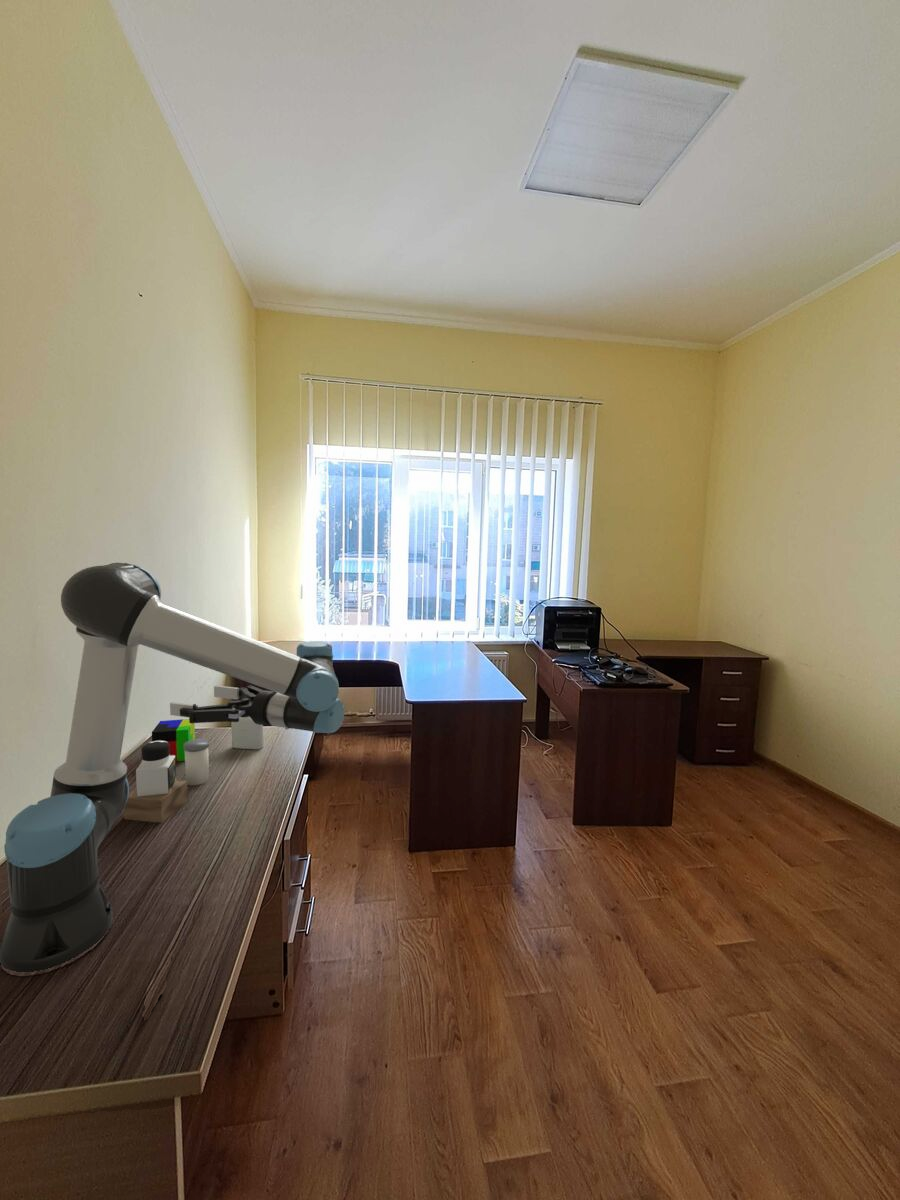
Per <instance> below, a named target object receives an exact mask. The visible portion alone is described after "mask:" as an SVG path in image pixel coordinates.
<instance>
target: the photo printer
mask: <svg viewBox="0 0 900 1200" xmlns="http://www.w3.org/2000/svg"><path fill="white" fill-rule="evenodd" d="M230 723H231V728H230V729H231V746H232V748H233V749H242V750H243V749H244V750H261V749H262V748H263V747H264V725H258V724H256V723H254V722H253V720H252V719H251V717H244V718H243V717H239V721H238V722H230Z"/></svg>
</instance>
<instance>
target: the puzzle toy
mask: <svg viewBox="0 0 900 1200" xmlns="http://www.w3.org/2000/svg"><path fill="white" fill-rule="evenodd" d="M195 724H196V723H189V718H185V719H184V718H183V719H170V720H169V719H168V720H160V721H159V722H158V723H157V724H156V726H155V727H154V729H153V730H152V732H151V742H153V741H166V742H168V743H169V747H170V756H173V755H175V760H176V762H183V761H184V762H185V750H184V743H186V742H187V741H190V740H193V739H196V731H195V729H196V728H195V726H196V725H195Z"/></svg>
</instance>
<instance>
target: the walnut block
mask: <svg viewBox="0 0 900 1200" xmlns="http://www.w3.org/2000/svg"><path fill="white" fill-rule="evenodd" d="M188 786H189V785H188V784H187V781H186V780H177V779H176V782H175V783H174V785H173V787H172V789H171V791H170V793H169V794H161V795H151V796H141V797H138V796H137V787H136V788H135V789H133V790H131V791H129V795H128V799H127V802H126V805H125V807H124V809H123V820H131V821H140V822H148V823H149V822H150V823H161V824H162V823H164V822H165V821H166V820H167V819H168V818H170V817H171V816H173V814H175V813H176V812H177V811H178V810H180V809H181V808H182V807H183V806H184V805H186V804H187V803H188V802H189V792H188V791H189V790H188Z"/></svg>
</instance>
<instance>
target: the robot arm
mask: <svg viewBox="0 0 900 1200" xmlns="http://www.w3.org/2000/svg"><path fill="white" fill-rule="evenodd" d="M161 598H162V591H161V586H160V583H159V582H158V580H157V578H156V577H155V576H154V575H153V573H151V572H150V571H149V570H147V569H146V568H144V567H142V566H140V565H136V564H132V563H128V562H112V563H109V564H104V565H94V566H88V567H85V568H83V569H80V570H79V571H76V573H74V574H73V575H72V576H70V578H68V580H66V583H65V584H64V586H63V587H62V589H61V593H60V604H61V608H62V611H63V614H64V615H65V616H66V618H67V619H68V620H69V622H70V623H72V624H73V625H74V626H75V627H76V628H75V630H76V631H75V633H76V634H77V635H79V636H80V637H81V639H82V640H83V641H84V643H83V649H82V654H81V655H82V656H81V661H80V667H79V668H80V669H79V674H78V675H79V676H78V680H77V681H78V682H77V689H76V696H75V701H74V706H73V707H74V708H73V712H72V721H71V727H70V732H69V733H70V734H69V740H68V745H67V751H66V752H67V753H66V758H65V759H66V760H65V762H63V763H62V764H60V765H59V766H58V767H57V768H55V770H54V772H53V778H52V783H51V790H50V791H51V792H50V796H48V797H45V798H44V799H40V800H38V801H37V803H36V804H30V805H28V806H27V807H25V808H23V809H22V810H21V811H20V812H18V813H17V814H16V815H15V816H14V817H13V818H12V819H11V821H10V822H9V824H8V826H7V828H6V831H5V840H4V841H5V843H4V854H5V857H6V858H5V860H6V869H7V881H8V893H9V902H10V915H9V919H8V922H7V925H6V928H5V932H4V935H3V938H2V941H1V942H0V963H1V965H2V966H3V967H4V968H6V969H9V970H12V971H16V972H34V971H40V970H45V969H48V968H52V967H54V966H57V965H60V964H62V963H65V962H66V961H69V960H71V959H72V958H75V957H76V956H78V955H79V954H81V953H83V952H84V951H86V950H87V949H89V948H90V947H92V946H93V945H94V944H96V943H97V942H98V941H99V940H100V939H101V938H102V937H103V936H104V935H105V934H106V932H107V931H108V930H109V928H110V926H111V924H112V925H113V923H112V921H113V922H114V917H113V915H114V914H113V906H112V903H111V902H110V900H109V898H108V896H107V895H106V893H105V891H104V890H103V888H102V886H101V884H100V882H99V881H100V880H99V866H98V865H99V864H98V849H99V847H100V845H101V844H102V842H103V840H104V839H105V837H106V836H107V834H108V833H109V831H110V830H111V828H112V826H113V825H114V823H115V822H116V820H117V819H118V818H119V817H120V816H121V814H122V812H124V807H125V805H126V802H127V799H128V795H129V793H130V784H129V781H128V777H127V773H128V766H127V764H126V763H125V762H124V761H122V759H121V756H122V755H121V754H122V749H123V743H124V737H125V736H124V735H125V731H126V730H125V729H126V724H127V717H128V713H129V712H128V711H129V706H130V700H131V699H130V698H131V693H132V687H133V680H134V675H135V669H136V663H137V662H136V661H137V658H138V657H137V656H138V651H139V645H140V646H141V645H142V646H144V647H147V648H150V649H153V650H155V651H159V652H162V653H164V654H167V655H170V656H172V657H176V658H178V659H182V660H184V661H187V662H189V663H192V664H195V665H198V666H201V667H204V668H206V669H210V670H212V671H215V672H217V673H221V674H222V675H223V674H224V675H227V676H230V677H232V678H235V679H238V680H241V681H242V682H247V683H249V684H252V685H247V687H245V686H242V687H240V688H239V687H233V686H224V685H214V686H213V696H214V697H213V698H221V699H222V698H223V699H229V700H231V701H228V702H227V703H223V704H214V705H203V706H199V705H198V704H196V703H193V704H189V703H183V702H174V701H172V702H170V703H169V711H170V713H169V714H170V716H173V717H181V718H182V717H183V718H188V719H189V723H195V724H200V723H201V724H202V723H203V724H204V723H207V724H208V723H224V722H229V723H231V722H238V721H239V717H243V718H244V717H251V719H252V720H253V722H254V723H256V724H258V725H263V726H267V727H278V728H282V729H283V728H284V729H285V730H290V729H292V730H300V731H307V732H313V733H315V734H317V733H318V734H319V733H322V734H333V733H335V732H337V731H338V730H340V728H341V726H342V724H343V722H344V718H345V711H346V710H345V706H344V701H343V700H342V699H341V698H338V697H339V689H340V684H339V680H338V677H337V676H336V673H335V670H334V667H333V663H334V661H333V660H334V659H333V658H334V655H333V646H332V644H331V643H329V642H328V641H327V642H326V641H322V640H320V641H319V640H312V641H310V640H309V641H304V642H300V643H299V644H298V645H297V646H296V653H295V654H293V653H291V652H288V651H285V650H283V649H280V648H278V647H275V646H272V645H270V644H268V643H264V642H262V641H260V640H257V639H255V638H251V637H249V636H247V635H244V634H242V633H239V632H237V631H234V630H231V629H229V628H226V627H223V626H222V625H221V626H220V625H219V624H215V623H213V622H211V621H208V620H205V619H203V618H200V617H198V616H195V615H192V614H191V613H187V612H185V611H182V610H180V609H177V608H174V607H172V606H169V605H166V604H164V603H162V601H161ZM254 685H255V686H254ZM257 686H258V687H257ZM259 687H260V688H259ZM261 688H264V689H265V690H263V689H261ZM239 699H240V700H239Z"/></svg>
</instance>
